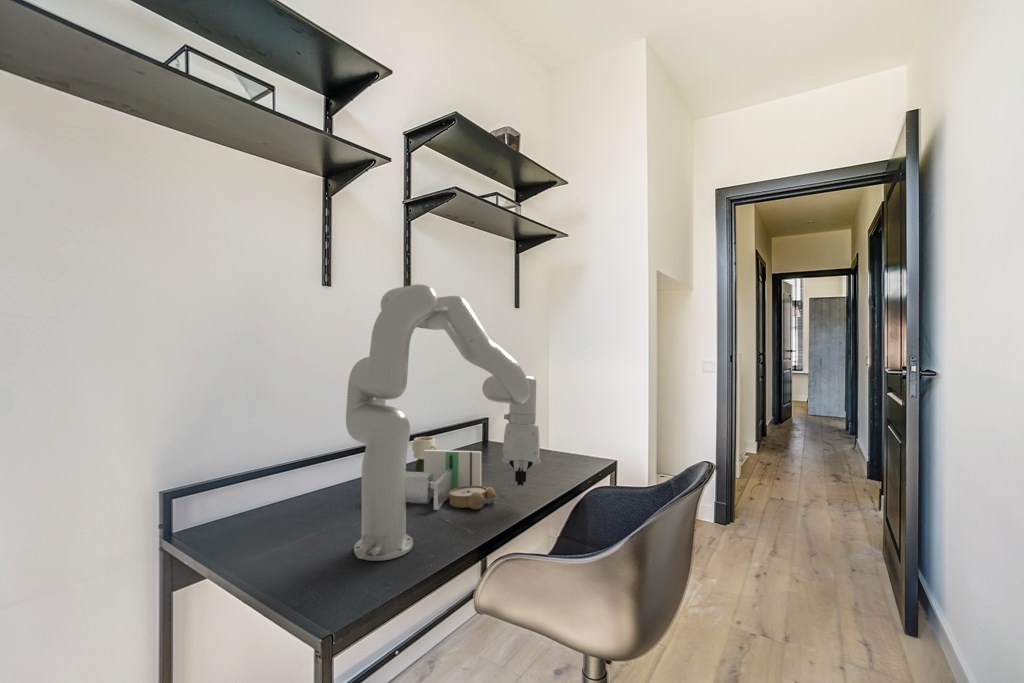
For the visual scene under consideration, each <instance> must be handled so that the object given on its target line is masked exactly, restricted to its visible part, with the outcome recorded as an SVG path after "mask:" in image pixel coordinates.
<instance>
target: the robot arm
mask: <svg viewBox="0 0 1024 683" xmlns="http://www.w3.org/2000/svg"><path fill="white" fill-rule="evenodd" d="M434 290H435V289H433V288H432V287H431V286H428V285H425V284H419V283H418V284H412V285H406V286H401V287H396V288H392V289H390V290H388V291H387V292H386V293H384V295H383V296H382V297H381V300H380V310H381V311H380V312H379V314H378V316H377V318H376V320H375V322H374V324H373V327H372V332H371V338H370V339H371V340H370V347H369V355H368V356H366V357H363V358H361V359H360V360H357V362H356V363H355V364H354V366H353V367H352V368H351V371H350V373H349V376H348V381H347V382H348V384H347V396H346V410H345V411H346V412H345V424H346V430H347V433H348V434H349V436H350V437H351V439H353V440H355V441H356V442H359V443H361V444H363V445H365V451H364V455H363V459H362V463H361V538H360V539H359V540H358V541H357V542H356V543H355V544H354V546H353V552H354V555H355V556H356V557H357V559H361V560H365V561H370V562H372V561H373V562H381V561H382V562H383V561H388V560H393V559H397V558H400V557H402V556H404V555H406V554H407V553H409V552H410V551H411V550H412V548H413V546H414V540H413V537H411V536H410V535H409V534H407V532H406V531H407V528H406V527H407V503H406V472H407V454H408V453H407V452H408V449H409V448H408V447H409V441H410V436H411V424H410V422H409V419H408V417H407V416H406V414H405V413H404V412H403V411H402V410H400V409H399V408H397V407H394V406H390V405H386V401H388V400H389V401H391V400H395V399H397V398H399V397H401V396H402V395H403V394H404V393H405V390H406V389H407V384H408V376H409V375H408V374H409V373H408V372H409V357H410V343H411V339H412V336H413V333H414V332H415V329H416V328H419V329H424V330H425V329H426V330H431V331H433V330H434V331H437V330H439V331H440V330H441V331H443V330H444V331H445V332H446V333H447V334H446V335H448V337H449V339H450V340H451V341H452V343H453V344H454V346H455V347H456V348H457V350H458V352H459V353H460V355H461V357H462V358H463V359H464V360H466V361H467V362H469V363H470V364H473V365H474V366H476V367H479V368H481V369H483V370H485V371H487V372H488V373H489V374H491V376H488V377H487V378H486V379H485V380H484V381H483V383H482V394H483V395H484V397H485V398H486V399H488V400H489V401H492V402H494V403H500V404H501V403H502V404H507V405H508V404H509V408H508V409H509V410H508V413H505V414H503V419H504V420H507V421H508V422H507V423H506V424H505V428H504V435H503V444H502V459H501V461H502V463H504V464H508V465H510V466H511V468H513V469H514V472H515V474H514V475H515V476H514V477H515V478H514V480H515V482H516V483H517V484H516V485H517V486H521V487H523V486H524V483H526V482H527V471H528V470H529V469H530V468H531V467H532V466H537V465H540V463H541V460H540V459H541V458H540V451H541V450H540V433H539V432H540V431H539V425H538V423H536V414H537V413H536V412H537V379H536V377H534V376H532V375H526V374H525V372H524V371H523V369H522V368H521V366H520V365H519V363H518V362H517V360H516V359H514V357H512V356H511V355H510V354H509V353H508V352H507V351H505V350H504V349H503V348H502V347H500V345H498V344H496V343H495V342H494V341H493V340H492V339H491V338H490V336H489V335H488V334H487V332H486V331H485V328H484V327H483V325H482V323H481V322H480V320H479V318H478V317H477V315H476V314H475V312H474V311H473V309H472V308H471V306H470V304H469V303H468V302H467V301H466V299H465V298H463V297H461V296H458V295H447V296H440V297H439V296H437V294H436V291H434ZM520 462H523V463H522V464H523V465H522V468H521V466H520Z"/></svg>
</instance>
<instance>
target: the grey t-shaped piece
mask: <svg viewBox="0 0 1024 683" xmlns="http://www.w3.org/2000/svg"><path fill="white" fill-rule="evenodd" d="M429 488H433V510H434V511H439V509H440V508H441V507H442V506H443V504H444V503H445V502H446V501H447V499H448V498H446V496H450V495H449V492H450V491H451V490H452V489H453V455H450V457H449V468H448V469H447V471H446V472H445V473H444V474H443V475H442V476H441V477H440V478H439V479H438V480H437V481H429Z"/></svg>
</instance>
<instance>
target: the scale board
mask: <svg viewBox="0 0 1024 683" xmlns="http://www.w3.org/2000/svg"><path fill="white" fill-rule="evenodd" d="M450 455H453V489H455V488H458V487H463V486H482V451H478V450H476V451H474V450H443V449H440V450H439V449H437V450H424V472H433V481H437V480H438V479H439V478H440V477H441V476H442V475H443V474H444V473H445V472H446V471H447V469H448V468H449V457H450Z"/></svg>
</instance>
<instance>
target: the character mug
mask: <svg viewBox="0 0 1024 683" xmlns="http://www.w3.org/2000/svg"><path fill="white" fill-rule="evenodd" d="M435 441H436V439H435V437H433V436H419V437H415V438H413V442H412V443H411V444H412V447H411V450H412V452H413V457H414V458H415V459H417V460H416V463H415V470H414V472H424V450H438V449H437V448H438V447H437V446H436V442H435Z"/></svg>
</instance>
